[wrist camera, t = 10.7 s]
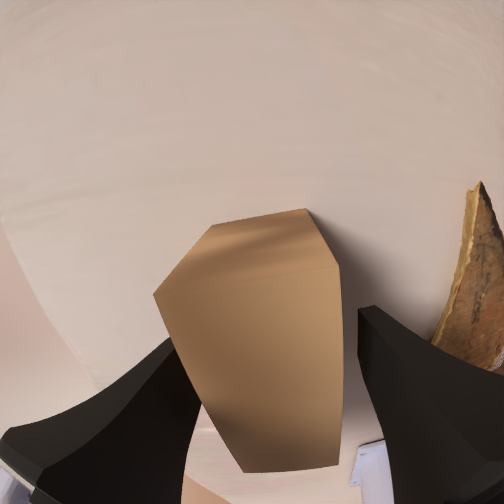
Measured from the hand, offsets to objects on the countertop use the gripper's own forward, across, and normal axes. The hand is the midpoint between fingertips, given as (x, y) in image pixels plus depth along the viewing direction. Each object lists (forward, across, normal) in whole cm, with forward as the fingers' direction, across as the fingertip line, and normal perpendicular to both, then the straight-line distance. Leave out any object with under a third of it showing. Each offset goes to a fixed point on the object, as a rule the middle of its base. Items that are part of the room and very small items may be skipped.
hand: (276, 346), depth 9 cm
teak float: (+3, 0, 0) cm, 3 cm away
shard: (+3, -10, +3) cm, 10 cm away
